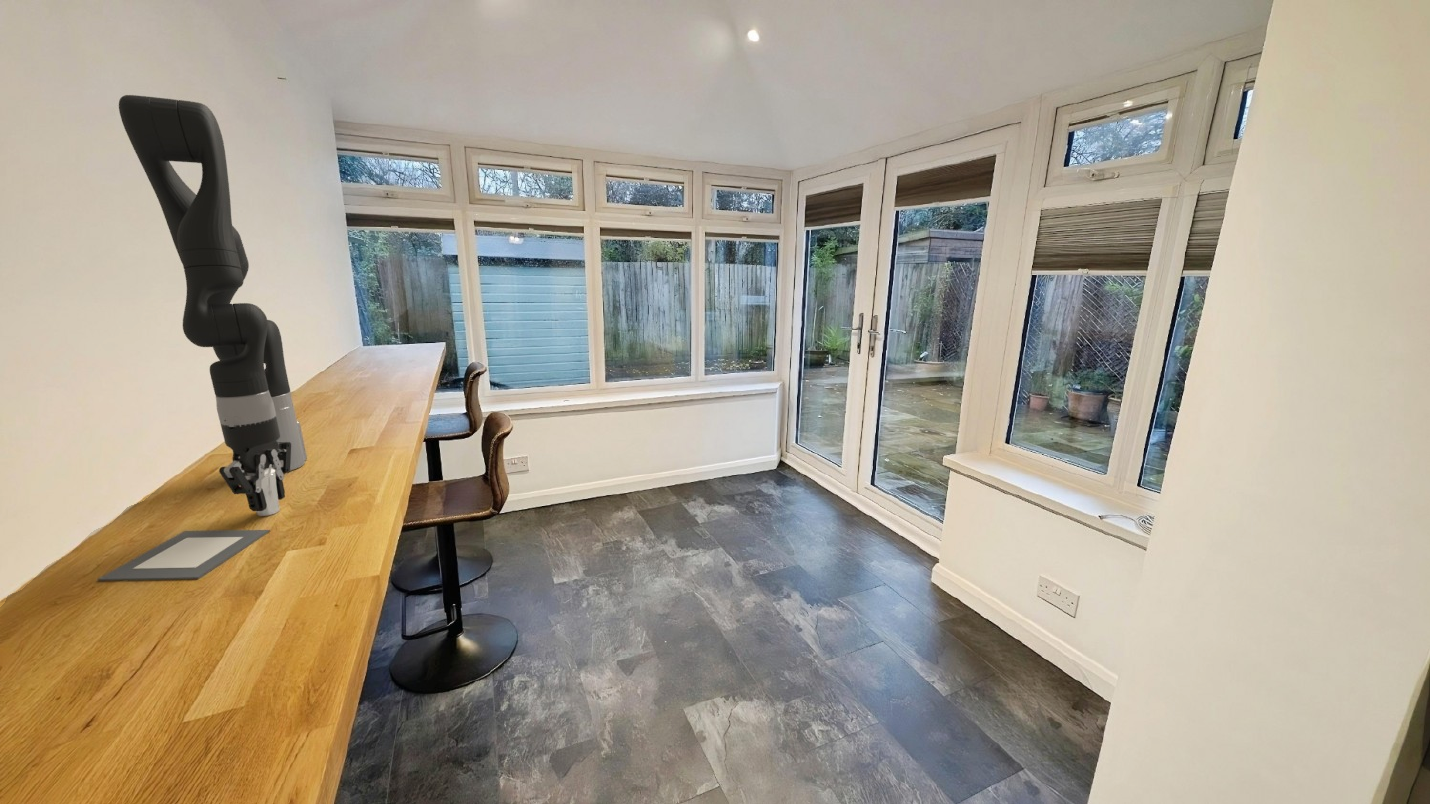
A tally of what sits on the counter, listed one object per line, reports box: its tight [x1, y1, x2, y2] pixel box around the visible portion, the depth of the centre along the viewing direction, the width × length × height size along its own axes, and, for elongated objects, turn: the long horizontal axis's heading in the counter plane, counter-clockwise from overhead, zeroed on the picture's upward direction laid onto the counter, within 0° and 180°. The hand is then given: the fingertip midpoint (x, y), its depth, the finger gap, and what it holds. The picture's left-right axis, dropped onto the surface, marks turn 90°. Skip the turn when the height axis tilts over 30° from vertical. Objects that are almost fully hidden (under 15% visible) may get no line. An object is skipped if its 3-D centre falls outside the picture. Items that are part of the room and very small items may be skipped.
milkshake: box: [247, 464, 281, 517], centre depth 96 cm, size 4×5×10 cm
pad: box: [97, 529, 271, 582], centre depth 83 cm, size 14×14×1 cm
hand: (268, 504), depth 97 cm, fingers closed on milkshake, 4 cm apart
